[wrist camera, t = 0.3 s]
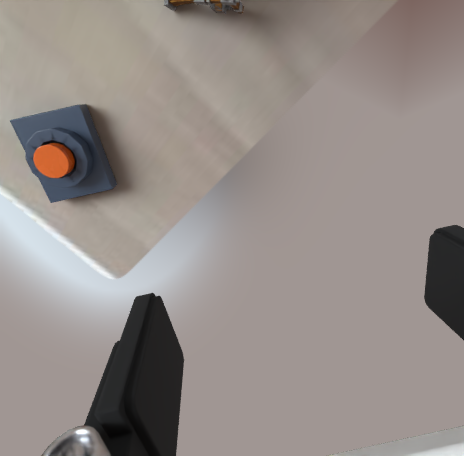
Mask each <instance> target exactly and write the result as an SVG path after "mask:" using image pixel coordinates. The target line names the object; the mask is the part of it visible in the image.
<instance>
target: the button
mask: <svg viewBox="0 0 464 456" xmlns="http://www.w3.org/2000/svg"><path fill="white" fill-rule="evenodd" d="M34 164H35V166H36V168H37V169H38V170H39V171H40V172H41V173H42V174H43V175H45V176H47V177H50V178H60V177H62V176H64V175H66V174H68V173H70V172H71V171H72V170H73V168H74V166H75V158H74V155H73V153H72V152H71V151H70V150H69V149H68V148H67V147H66V146H64V145H62V144H59V143H50V144H46V145H43V146H40V147H39V148H37V149H36V151H35V153H34Z"/></svg>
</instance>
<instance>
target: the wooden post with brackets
mask: <svg viewBox="0 0 464 456" xmlns="http://www.w3.org/2000/svg"><path fill="white" fill-rule="evenodd" d="M189 3H196V4H197V5H199V4H205V5H208V4H209V5H210V7H211V9H213V10H214V11H215V12H220V11H223V12H224V13H225V14H226V11H227V9H229V10H230V9H231V8H232V7H233V8H232V9H233V10H235V11H236V12H238V13H243V9H244V6H243V5H242V3H241V2H240V0H164V5H165V6H166V7H168V8H170V9H171V10H176V6H178V5H182V4H189Z"/></svg>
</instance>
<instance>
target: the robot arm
mask: <svg viewBox="0 0 464 456" xmlns="http://www.w3.org/2000/svg"><path fill="white" fill-rule="evenodd" d="M424 298H425V302H426V304H427V306H428V307H429V308H430V309H431V310H432V311H433V312H434V313H435V314H436V315H437V316H438V317H439V318H441V319H442V320H443V321H444V322H445V323H446V324H447V325H448V326H449V327H450V328H451V329H452V330H454V331H455V333H457V334H458V335H459V336H460V337H461V338H462V339H463V340H464V228H462V227H460V226H458V225H452V226H448V227H443V228H439V229H436V230H435V231H434V234H433V235H431V236H430V241H429V252H428V263H427V274H426V285H425V296H424ZM183 363H184V358H183V352H182V350H181V347H180V344H179V342H178V339H177V337H176V334H175V331H174V329H173V327H172V324H171V321H170V319H169V316H168V314H167V311H166V308H165V306H164V303H163V301H162V298H161V297H160V296H155V294H154V293H151V294H146V295H142V296H137V297H136V298H135V300H134V303H133V305H132V308H131V311H130V314H129V317H128V319H127V322H126V325H125V328H124V331H123V333H122V337H121V339H120V341H118V342H117V343H115V345H114V347H113V349H112V352H111V355H110V358H109V360H108V363H107V365H106V368H105V371H104V373H103V377H102V379H101V381H100V384H99V387H98V389H97V392H96V395H95V398H94V401H93V403H92V406H91V408H90V411H89V414H88V416H87V419H86V422H85V424H84V426H78V427H75V428H73V429H70V430H68V431H67V432H65V433H64V434H62V435H61V436H59V437H58V438H57V439H56V440H55V441H54V442H53V443H52V444H50V446H48V448H47V449H46V450H45V451H44V453H43V454H42V456H176V448H177V437H178V425H179V413H180V400H181V389H182V377H183ZM329 456H464V426H461V427H456V428H451V429H447V430H442V431H438V432H433V433H429V434H424V435H419V436H415V437H410V438H405V439H401V440H397V441H392V442H387V443H383V444H379V445H373V446H369V447H364V448H360V449H356V450H351V451H346V452H342V453H337V454H333V455H329Z"/></svg>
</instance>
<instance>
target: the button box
mask: <svg viewBox="0 0 464 456" xmlns="http://www.w3.org/2000/svg"><path fill="white" fill-rule="evenodd" d="M10 122H11V124H12V126H13V128H14V130H15V132H16V134H17V136H18V138H19V140H20V142H21V144H22V146H23V148H24V150H25V152H26V160H27V162H28V164H29V166H30V168H31V170H32V172H33V174H35V175H36V176H37V177H38V178H39V180H40V182H41V184H42V186H43V188H44V190H45V192H46V194H47V196H48V198H49V200H50V202H51V203H53V202H57V201H62V200H66V199H70V198H75V197H79V196H84V195H88V194H93V193H97V192H102V191H106V190H111V189H113V188H114V187H115V186H116V185H117V183H116V180H115V178H114V175H113V172H112V170H111V167H110V165H109V162H108V159H107V157H106V154H105V152H104V149H103V146H102V144H101V141H100V139H99V136H98V133H97V131H96V128H95V126H94V123H93V120H92V118H91V115H90V113H89V110H88V107H87V105H86V104H83V105H75V106H71V107H66V108H62V109H57V110H53V111H49V112H44V113H40V114H35V115H31V116H27V117H22V118H18V119H13V120H10ZM50 143H59V144H62V145H64V146H66V147H67V148H68V149H69V150H70V151H71V152H72V153H73V155H74V158H75V166H74V168H73V170H72V171H71V172H70V173H68V174H66V175H64V176H62V177H60V178H50V177H47V176H45V175H43V174H42V173H41V172H40V171H39V170H38V169H37V168H36V166H35V164H34V153H35V151H36V149H37V148H39V147H40V146H43V145H46V144H50Z"/></svg>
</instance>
